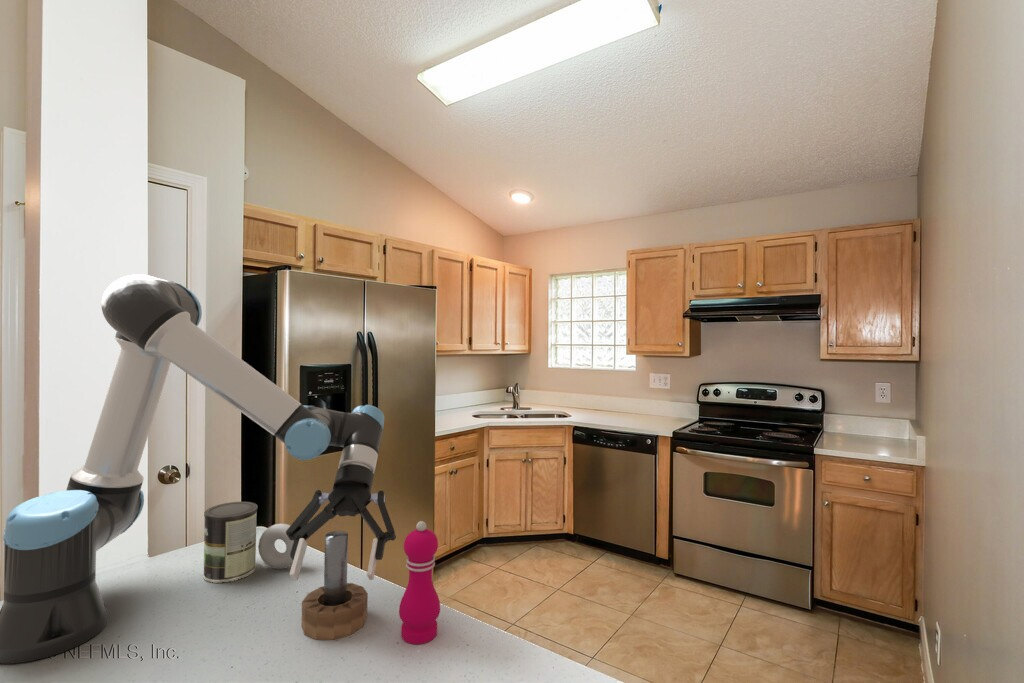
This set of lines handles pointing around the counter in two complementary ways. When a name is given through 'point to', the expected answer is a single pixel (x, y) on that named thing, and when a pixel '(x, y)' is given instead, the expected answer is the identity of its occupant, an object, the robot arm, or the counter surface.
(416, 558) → the pepper mill
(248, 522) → the coffee can
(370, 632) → the counter surface
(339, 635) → the bead
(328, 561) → the metal cylinder peg
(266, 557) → the donut
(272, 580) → the counter surface
